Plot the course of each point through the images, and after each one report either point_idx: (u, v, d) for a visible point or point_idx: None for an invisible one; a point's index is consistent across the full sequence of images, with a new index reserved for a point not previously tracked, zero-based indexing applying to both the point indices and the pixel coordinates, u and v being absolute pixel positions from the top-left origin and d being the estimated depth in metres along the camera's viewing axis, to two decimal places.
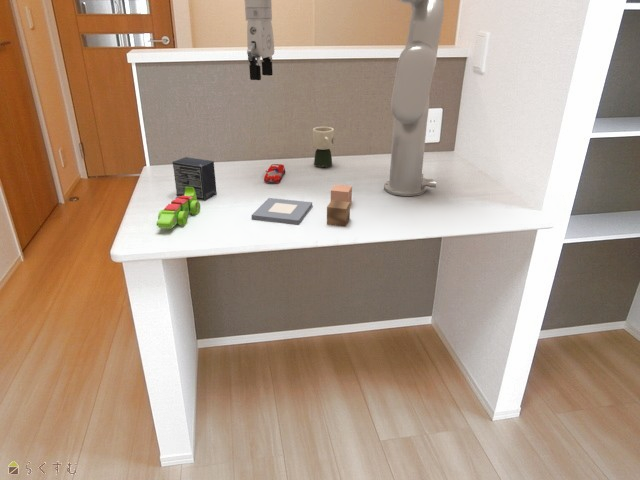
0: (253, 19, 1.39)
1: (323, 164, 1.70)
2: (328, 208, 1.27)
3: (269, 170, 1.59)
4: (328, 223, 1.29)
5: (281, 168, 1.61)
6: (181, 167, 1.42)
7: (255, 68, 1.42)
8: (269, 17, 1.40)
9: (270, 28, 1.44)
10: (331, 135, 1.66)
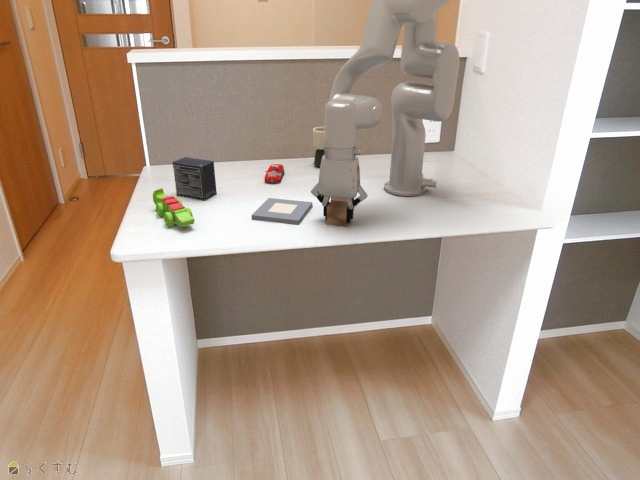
0: (353, 158, 1.22)
1: None
2: (328, 208, 1.27)
3: (269, 170, 1.59)
4: (328, 223, 1.28)
5: (281, 168, 1.62)
6: (181, 167, 1.42)
7: (353, 209, 1.28)
8: None
9: None
10: None
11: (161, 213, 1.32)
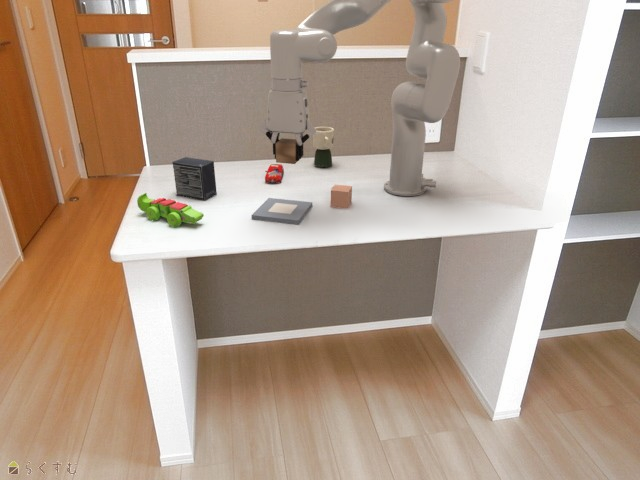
0: (300, 91, 1.20)
1: (323, 164, 1.70)
2: (277, 144, 1.24)
3: (269, 170, 1.59)
4: (277, 160, 1.26)
5: (281, 168, 1.62)
6: (181, 167, 1.42)
7: (302, 146, 1.26)
8: None
9: None
10: (331, 135, 1.66)
11: (157, 216, 1.30)
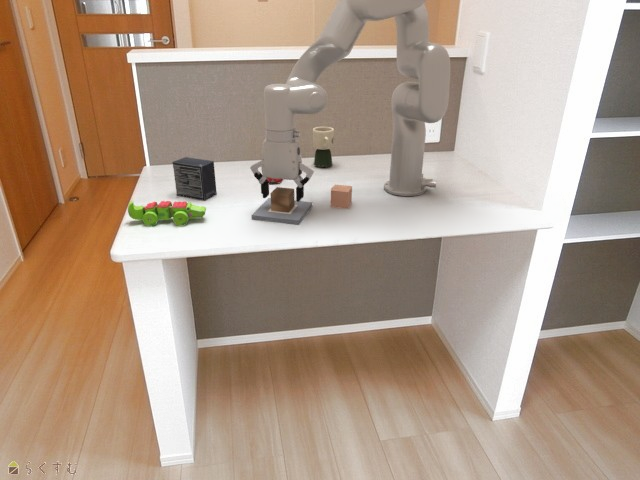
0: (293, 140, 1.26)
1: (323, 164, 1.70)
2: (271, 194, 1.31)
3: None
4: (272, 209, 1.33)
5: None
6: (181, 167, 1.42)
7: (303, 187, 1.32)
8: None
9: None
10: (331, 135, 1.66)
11: (157, 220, 1.28)
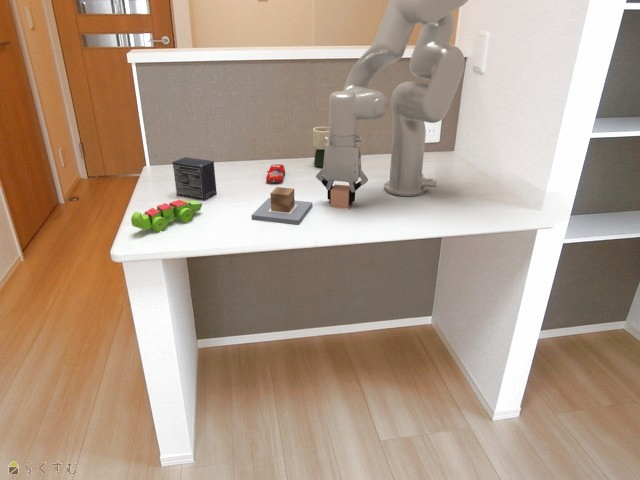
0: (355, 144, 1.33)
1: None
2: (271, 194, 1.31)
3: (270, 170, 1.59)
4: (272, 209, 1.33)
5: (282, 168, 1.61)
6: (181, 167, 1.42)
7: None
8: None
9: None
10: None
11: None
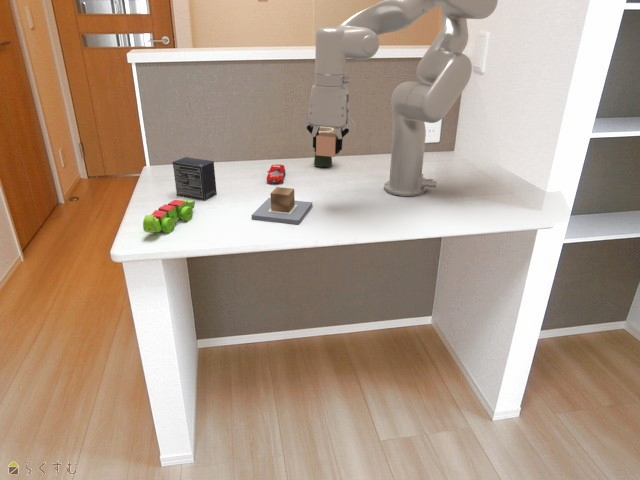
0: (343, 86, 1.25)
1: (323, 164, 1.70)
2: (271, 194, 1.31)
3: (271, 171, 1.59)
4: (272, 209, 1.33)
5: (282, 168, 1.61)
6: (181, 167, 1.42)
7: None
8: None
9: None
10: None
11: None
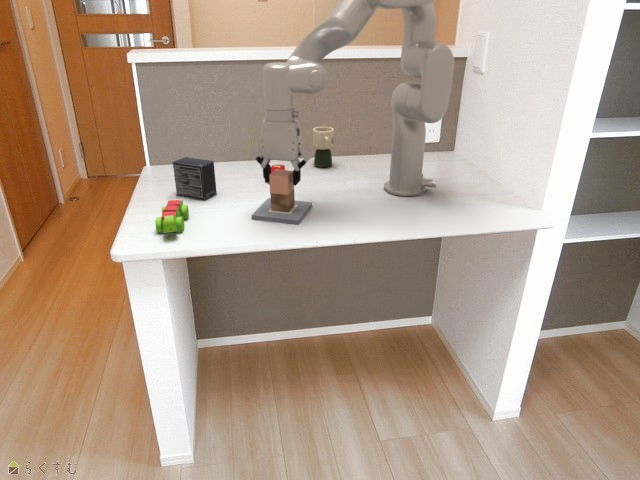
0: (293, 120, 1.24)
1: (323, 164, 1.70)
2: (271, 194, 1.31)
3: (271, 171, 1.59)
4: (272, 209, 1.33)
5: (283, 168, 1.61)
6: (181, 167, 1.42)
7: (300, 171, 1.30)
8: None
9: None
10: (331, 135, 1.66)
11: None
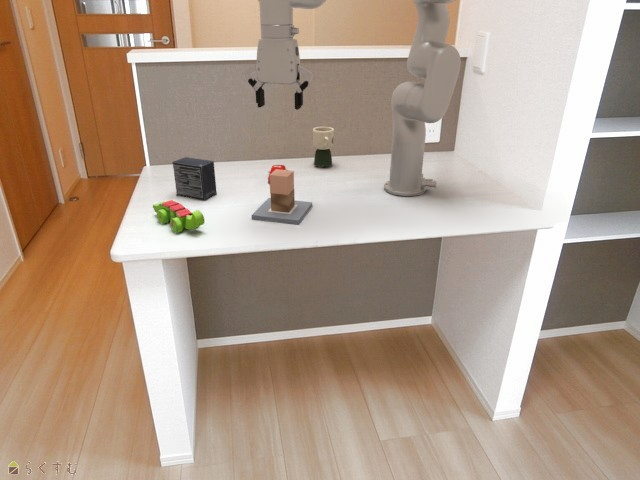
0: (291, 38, 1.15)
1: (323, 164, 1.70)
2: (271, 194, 1.31)
3: (272, 171, 1.58)
4: (272, 209, 1.33)
5: (283, 168, 1.61)
6: (181, 167, 1.42)
7: (302, 94, 1.21)
8: None
9: None
10: (331, 135, 1.66)
11: None
